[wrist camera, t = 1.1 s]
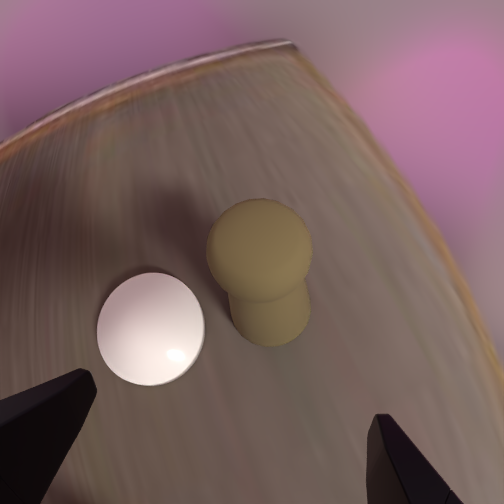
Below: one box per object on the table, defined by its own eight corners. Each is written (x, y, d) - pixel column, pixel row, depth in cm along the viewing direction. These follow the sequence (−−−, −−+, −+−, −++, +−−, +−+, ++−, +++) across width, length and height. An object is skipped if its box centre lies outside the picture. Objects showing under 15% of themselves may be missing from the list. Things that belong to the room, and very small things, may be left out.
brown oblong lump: (225, 278, 26) (186, 193, 16) (301, 263, 26) (305, 169, 16) (236, 353, 23) (195, 308, 13) (318, 337, 23) (340, 280, 13)
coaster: (149, 409, 21) (143, 409, 20) (85, 330, 25) (79, 326, 24) (229, 326, 24) (227, 323, 23) (155, 257, 27) (151, 252, 26)
